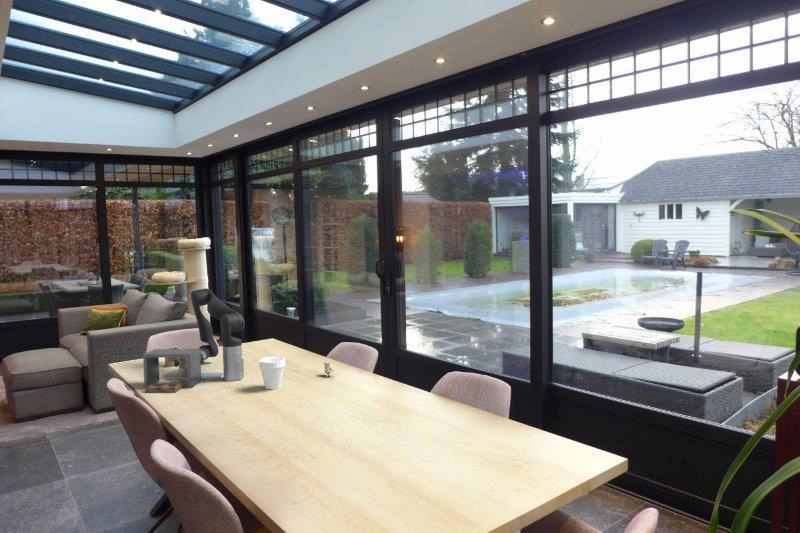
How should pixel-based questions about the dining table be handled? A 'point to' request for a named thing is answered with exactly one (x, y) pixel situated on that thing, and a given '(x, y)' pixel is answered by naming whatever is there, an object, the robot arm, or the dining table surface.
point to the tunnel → (153, 356)
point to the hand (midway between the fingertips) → (183, 364)
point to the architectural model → (326, 367)
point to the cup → (272, 371)
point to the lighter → (170, 360)
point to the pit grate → (163, 387)
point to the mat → (203, 376)
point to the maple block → (183, 367)
